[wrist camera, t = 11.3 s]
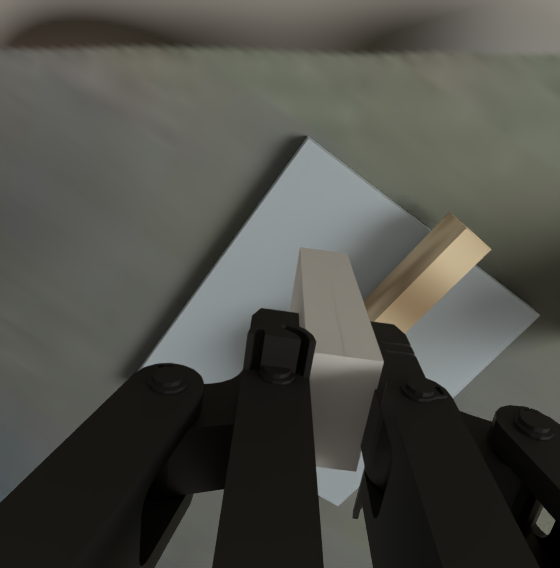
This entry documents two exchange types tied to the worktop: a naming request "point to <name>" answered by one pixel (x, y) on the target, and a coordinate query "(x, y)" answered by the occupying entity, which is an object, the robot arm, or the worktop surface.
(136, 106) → the worktop surface
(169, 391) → the robot arm
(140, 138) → the worktop surface
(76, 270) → the worktop surface
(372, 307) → the peg knob
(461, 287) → the board
